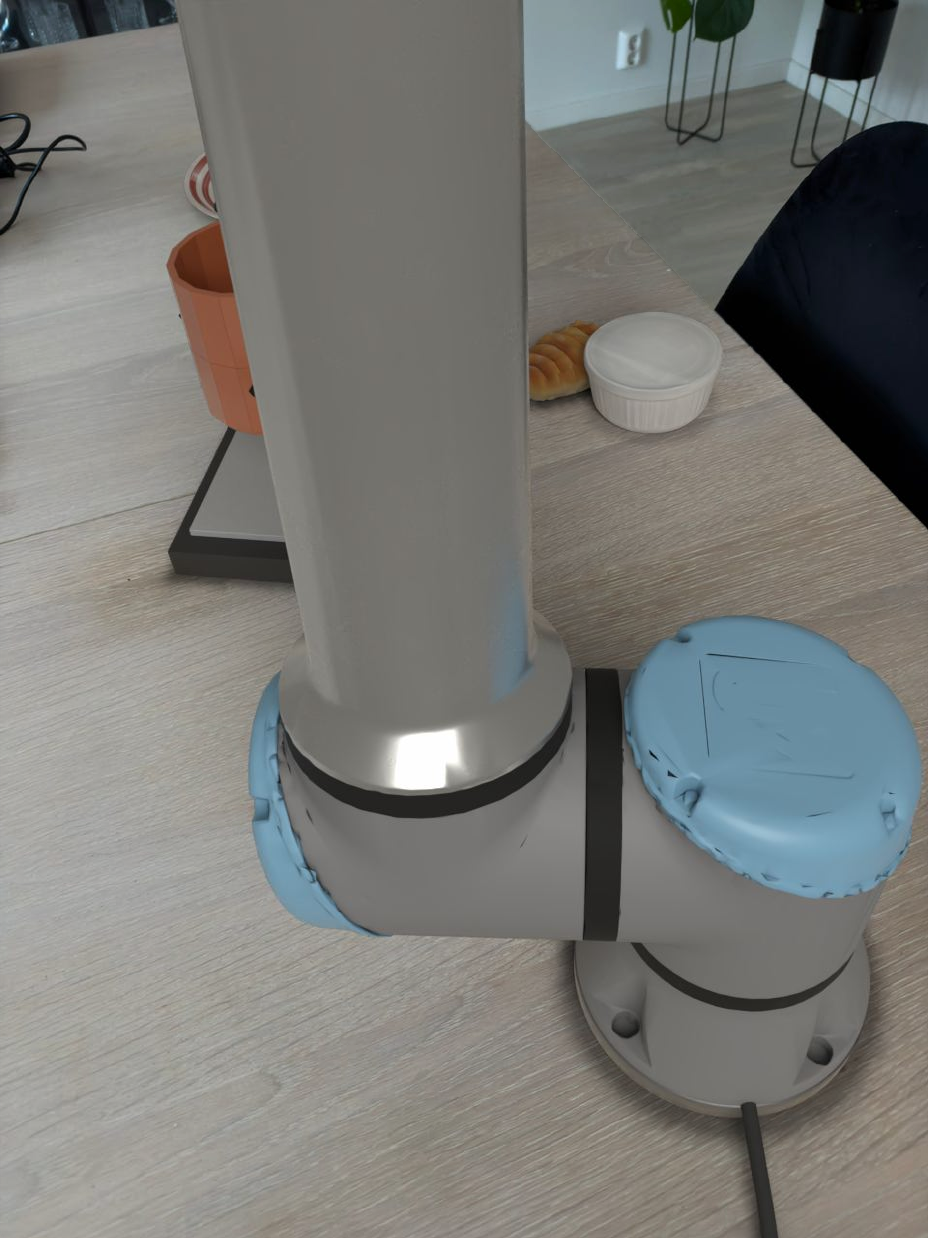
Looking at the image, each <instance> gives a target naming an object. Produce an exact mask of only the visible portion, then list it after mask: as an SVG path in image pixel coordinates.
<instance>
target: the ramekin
mask: <svg viewBox="0 0 928 1238" xmlns="http://www.w3.org/2000/svg"><path fill="white" fill-rule="evenodd" d="M599 327H600V328H598V329H597V330H596V331H595V332H594V333H593V334H592V335H591V336H590V337H589V339H588V340H587V342H586V345H585V349H584V366H585V369H586V371H587V373H588V376H589V382H590V391H591V396H592V401H593V404H594V405H595V408H596V409H597V411H598V413H600V414H601V416H603V418H605V419H606V420H607V421H609V422H610V423H611V424H613V425H615V426H616V427H618V428H621V429H623V430H626V431H629V432H634V433H638V434H663V433H664V434H665V433H669V432H672V431H676V430H679V429H681V428H683V427H685V426H687V425H689V424H691V422H693V421H694V420H695V419H697V418H698V417H699V415H701V414H702V412H703V411H704V410H705V409H706V407H707V405H708V404H709V400H710V397H711V394H712V392H713V389H714V385H715V382H716V378H717V376H718V374H719V373H720V371H721V368H722V366H723V362H724V361H723V360H724V349H723V344H722V342H721V341H722V340H720V338H719V336H718V335H717V334H716V333H715V332H714V331H713V330H712V329H711V328H710V327H709V326H707V325H705V324H704V323H702V322H700V321H698V320H696V319H694V318H691V317H688V316H685V315H681V314H676V313H673V312H666V311H665V312H664V311H643V312H636V313H631V314H626V315H624V316H619V317H617V318H614V319H612V320H610V321H608V322H606V323H604V324H602V325H601V326H599Z"/></svg>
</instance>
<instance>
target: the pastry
mask: <svg viewBox="0 0 928 1238" xmlns="http://www.w3.org/2000/svg"><path fill="white" fill-rule="evenodd" d="M600 327H601V326H599V325H598V324H597V323H594V322H592V321H583V320H580V319H578V320H576V321H575V322H573V323H570V324H569V325H568V326H566V327H564V328H562V329H558V330H554V331H552V332H551V333H547V334H545V335H543V336H541V338H539V340H538V341H537V342H535V344H533V346H531V347H529V400H533V401H542V402H545V401H547V400H548V401H553V400H555V399H556V398H560V397H570V396H572V395H576V394H578V393H580V392H583V391H586V390H588V389H591V387H590V382H589V376H588V373H587V371H586V369H585V366H584V349H585V345H586V342H587V340H588V339H589V337H590V336H591V335H592V334H593V333H594V332H595V331H596V330H597V329H598V328H600Z"/></svg>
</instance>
